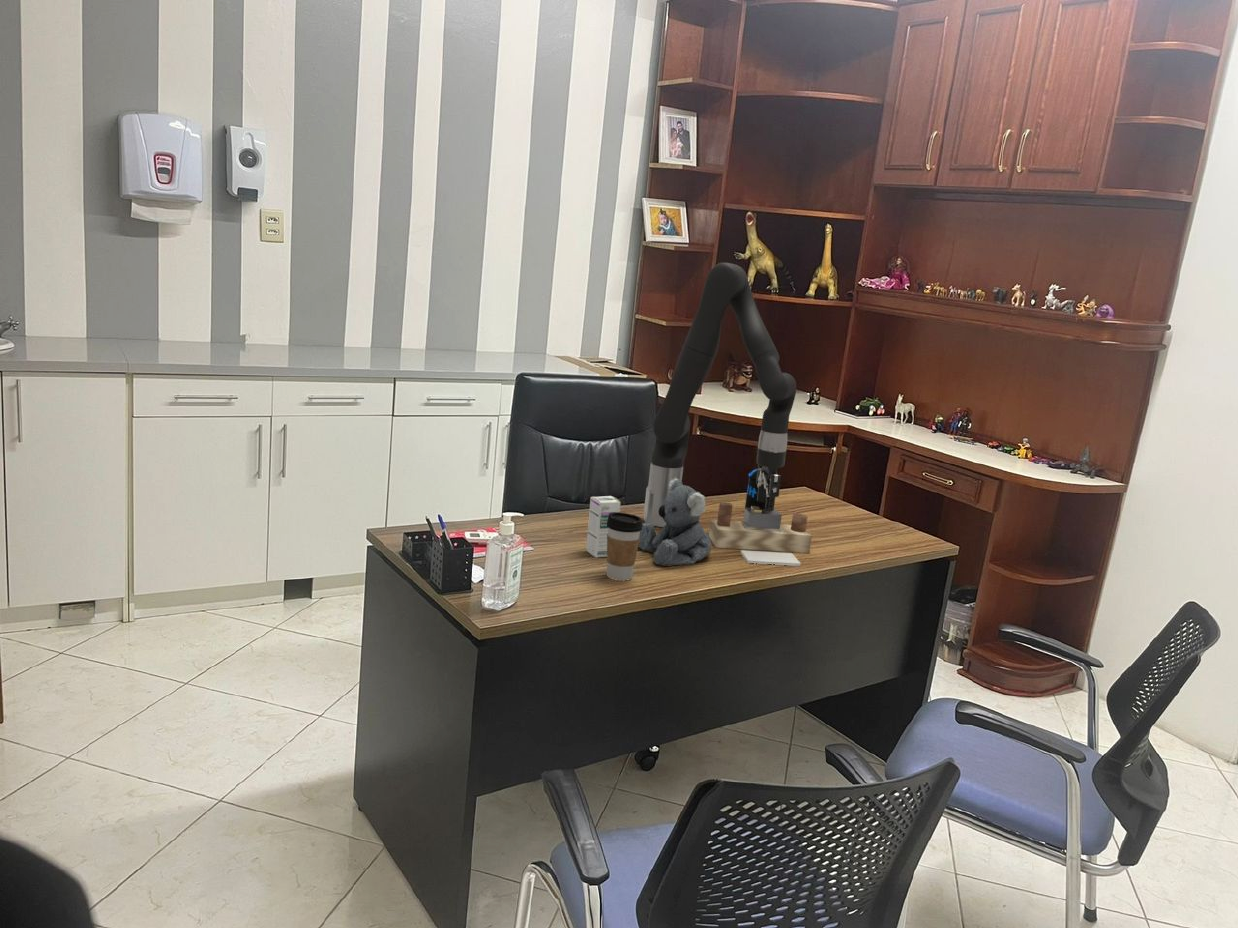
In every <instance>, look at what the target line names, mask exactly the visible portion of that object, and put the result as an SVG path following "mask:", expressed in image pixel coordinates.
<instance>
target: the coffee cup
mask: <svg viewBox="0 0 1238 928" xmlns="http://www.w3.org/2000/svg"><path fill="white" fill-rule="evenodd" d="M642 524H643V518H641V517H640V516H638V515H635V514H632V513H627V512H626V513H625V512H620V513H619V512H612V513H610V514H609V517H608V521H607V527H608V534H607V557H606V562H607V563H606V576H609V577H611V578H613V579H617V580H627V579H630V578H631V579H632V578H633V573H634V567H635V564H636V558H637V554H638V549H639V546H638V545H639V540H640V537H639V535H640V531H641V530H642V527H643V525H642ZM613 579H612V580H613ZM631 579H630V580H631ZM617 580H616V581H617ZM627 581H628V580H627Z"/></svg>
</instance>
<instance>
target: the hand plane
mask: <svg viewBox="0 0 1238 928" xmlns="http://www.w3.org/2000/svg"><path fill="white" fill-rule="evenodd" d="M718 505H719V506H718V512H717V513H718V515H717V519H710V524H709V532H708V533H709V534H708V537H709V539H710V541H711V544H713V546H714V548H719V549H721V548H722V549H736V550H737V549H738V550H748V551H765V552H781V553H802V554H810V550H811V544H812V538H813V537H812V536H813V535H812V533H810V532H809V530H807V524H808V515H806V514H802V513H794V514H793V513H792V519H791V524H785V523H783V524H782V523H781V524H780V529H768V528H752V527H747V526H746V525H745V524H744V522H743V520H742V521H739V520H738V521H736V520H732V514H733V513H732V512H733V504H732V502H720V501H719V504H718Z"/></svg>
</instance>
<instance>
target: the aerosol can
mask: <svg viewBox="0 0 1238 928" xmlns="http://www.w3.org/2000/svg"><path fill="white" fill-rule="evenodd" d="M757 472H758V468H756V469H753V470H752V471H750V472H749V473H748V482H747V490H746V497H745V503H744V509H745V508H751V506H758V507H759V508H760V509H765V504H766V499H765V502H758V501H757V495H758V486H757V485H758V484H756V479H757ZM772 492H773V490H772ZM766 497H767V495H766Z"/></svg>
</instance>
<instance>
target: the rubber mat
mask: <svg viewBox="0 0 1238 928" xmlns="http://www.w3.org/2000/svg"><path fill="white" fill-rule="evenodd" d="M740 554H741V556H742V557H743V559H744V560H745V562H746V561H747V562H746V564H749V563H754V564H753V565H767V564H772V565H771V566H784V565H787V566H786V567H801V562H800V561H799V560H798V559H797V557H796V556H795V555H794V554H793V552H779V551H763V550H746V549H740ZM756 563H757V564H756ZM773 564H775V565H773Z"/></svg>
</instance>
